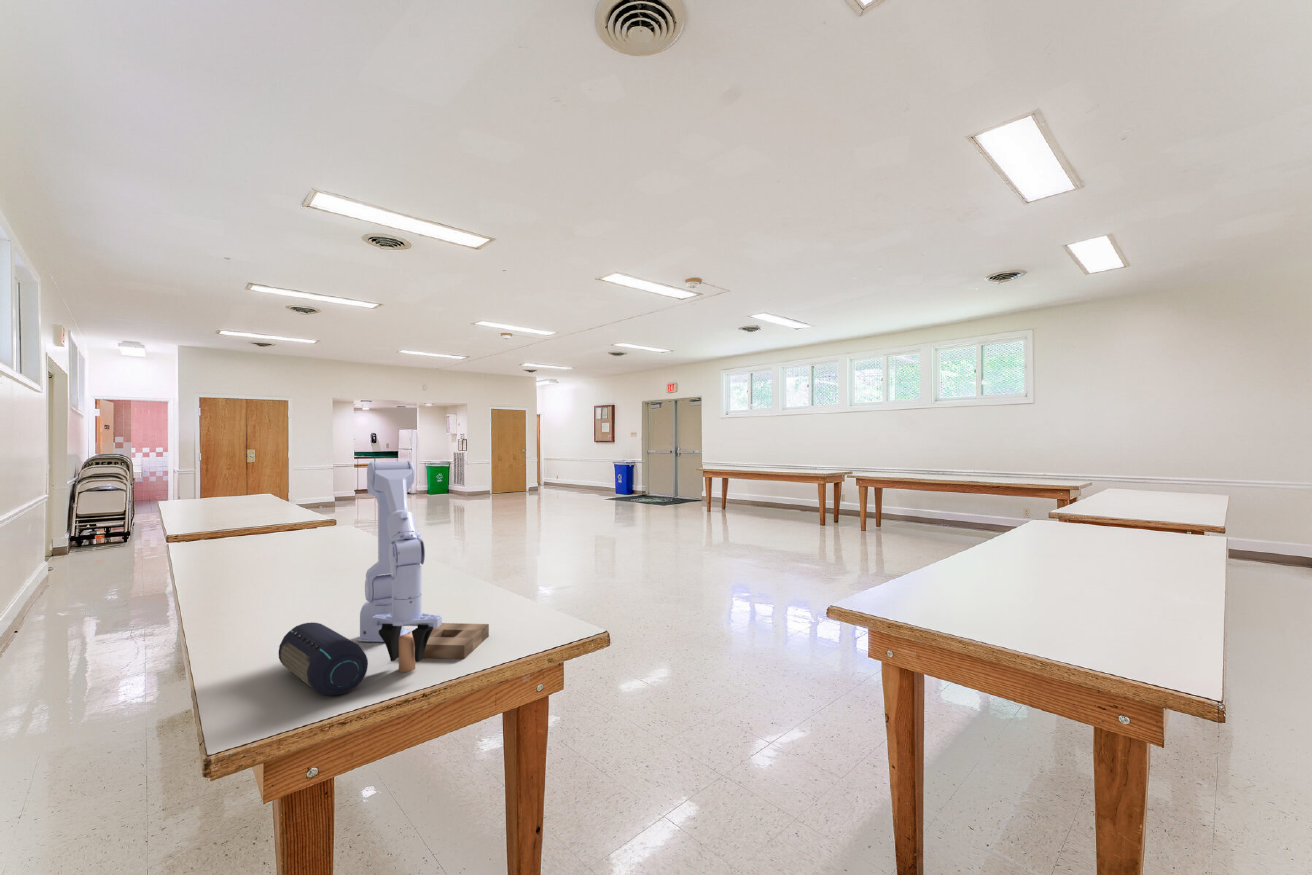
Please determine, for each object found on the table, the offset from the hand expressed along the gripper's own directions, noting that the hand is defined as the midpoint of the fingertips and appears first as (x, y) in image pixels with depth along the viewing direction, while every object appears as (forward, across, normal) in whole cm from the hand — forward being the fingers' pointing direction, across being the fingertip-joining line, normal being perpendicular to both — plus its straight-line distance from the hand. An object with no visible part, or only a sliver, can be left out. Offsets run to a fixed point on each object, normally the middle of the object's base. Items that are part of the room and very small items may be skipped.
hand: (407, 659), depth 114 cm
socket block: (+2, +3, +13) cm, 13 cm away
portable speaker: (+2, -15, -6) cm, 16 cm away
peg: (+2, 0, 0) cm, 2 cm away
